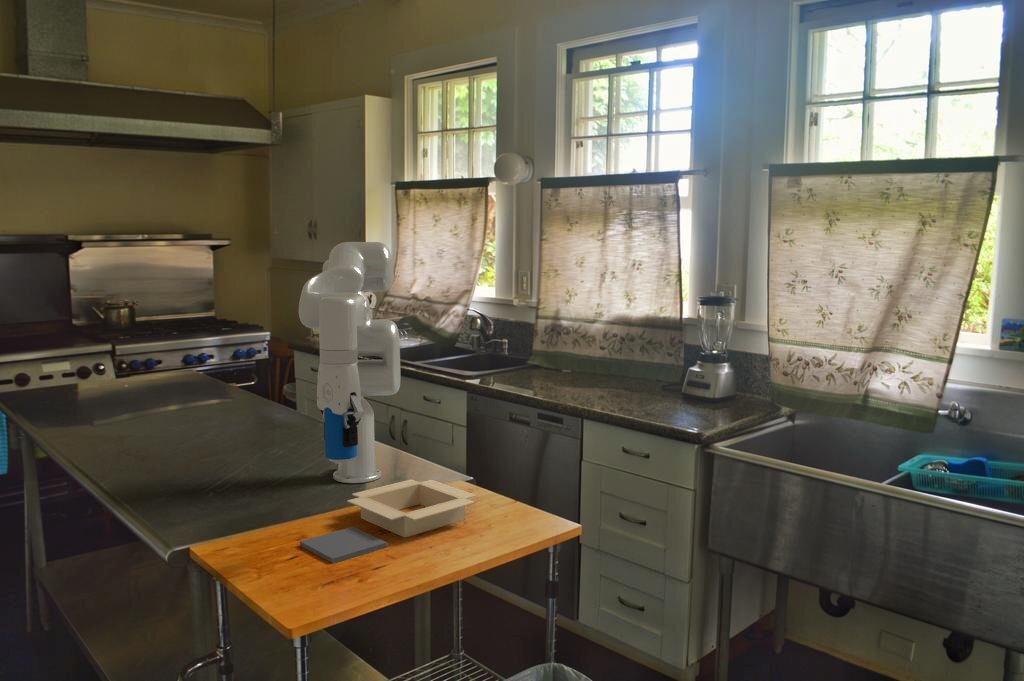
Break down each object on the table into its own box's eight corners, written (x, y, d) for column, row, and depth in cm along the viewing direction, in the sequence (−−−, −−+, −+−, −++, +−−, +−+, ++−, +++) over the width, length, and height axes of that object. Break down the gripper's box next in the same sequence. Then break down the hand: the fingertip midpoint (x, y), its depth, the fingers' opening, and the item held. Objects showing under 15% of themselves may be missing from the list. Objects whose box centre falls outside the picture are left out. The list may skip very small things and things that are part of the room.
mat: (299, 545, 181) (299, 541, 181) (352, 531, 190) (352, 526, 189) (332, 563, 171) (332, 558, 171) (387, 547, 180) (386, 542, 180)
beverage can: (359, 455, 181) (358, 399, 180) (354, 463, 175) (353, 405, 173) (328, 455, 181) (326, 399, 180) (322, 463, 175) (321, 405, 173)
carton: (339, 517, 198) (339, 496, 197) (422, 495, 214) (422, 476, 214) (400, 545, 181) (400, 523, 180) (486, 519, 197) (486, 498, 196)
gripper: (300, 354, 179) (303, 438, 181) (346, 364, 166) (348, 454, 169) (332, 350, 184) (334, 432, 186) (378, 360, 171) (380, 447, 174)
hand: (340, 442), depth 178 cm, fingers closed on beverage can, 6 cm apart
